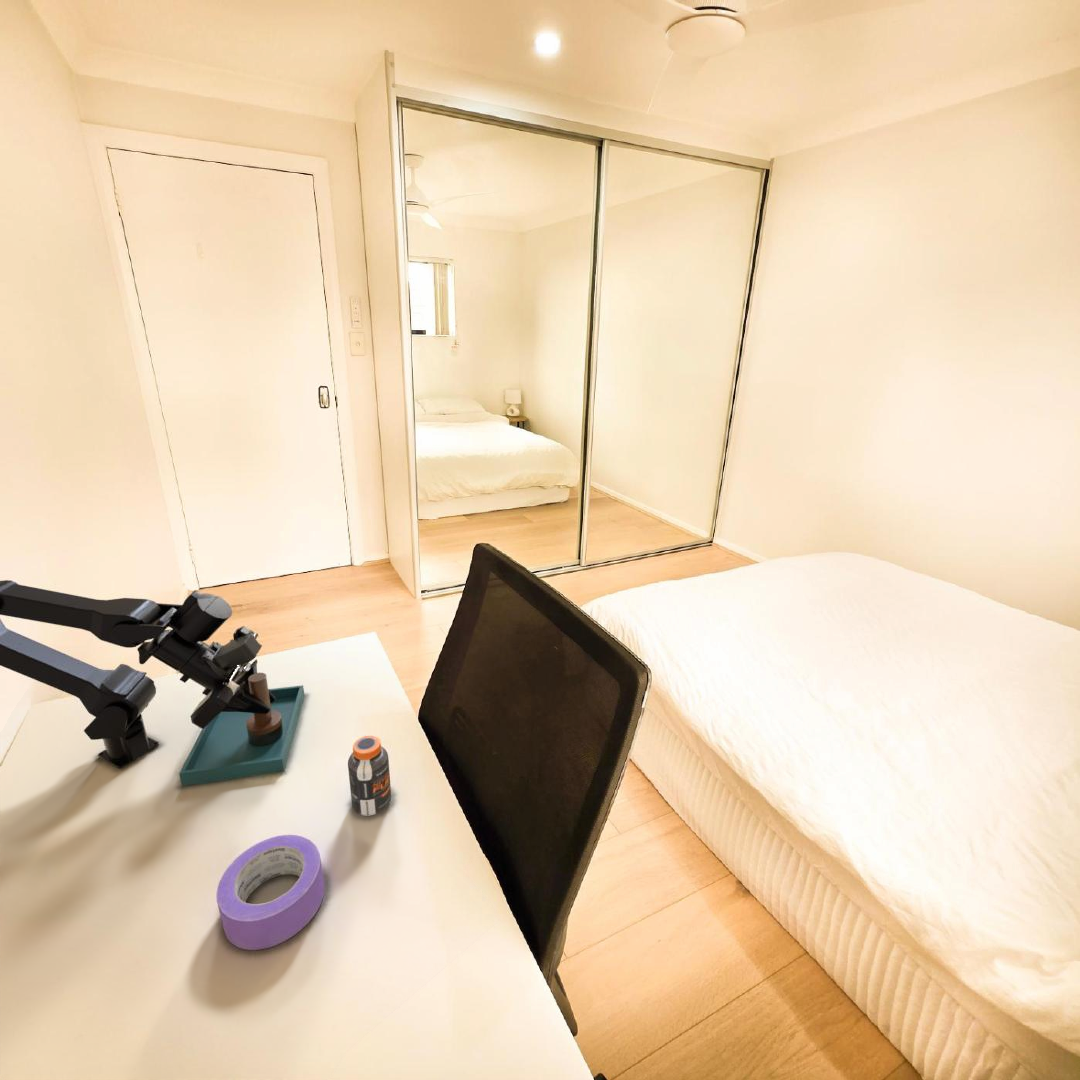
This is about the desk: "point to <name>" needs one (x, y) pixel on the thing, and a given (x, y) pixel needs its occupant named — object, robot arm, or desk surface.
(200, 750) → the tray
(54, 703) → the desk surface
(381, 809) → the pill bottle
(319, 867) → the tape roll
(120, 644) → the robot arm
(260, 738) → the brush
